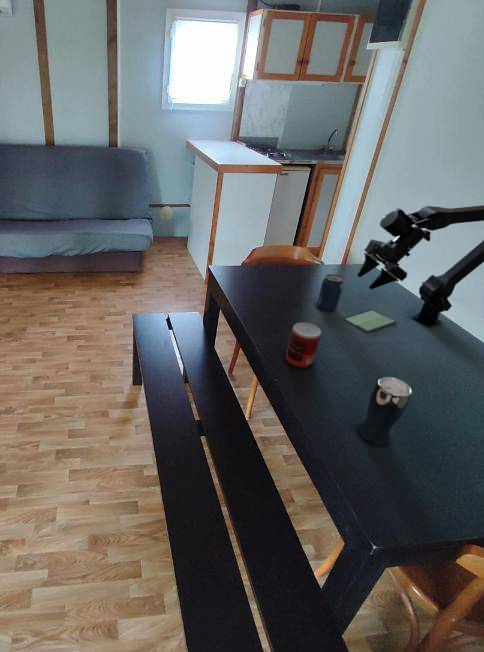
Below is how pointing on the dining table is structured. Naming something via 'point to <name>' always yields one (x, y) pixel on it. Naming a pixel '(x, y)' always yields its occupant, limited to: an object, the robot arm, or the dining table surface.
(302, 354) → the canned food
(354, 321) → the cloth
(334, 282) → the soda can
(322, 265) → the dining table surface
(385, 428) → the beer glass
